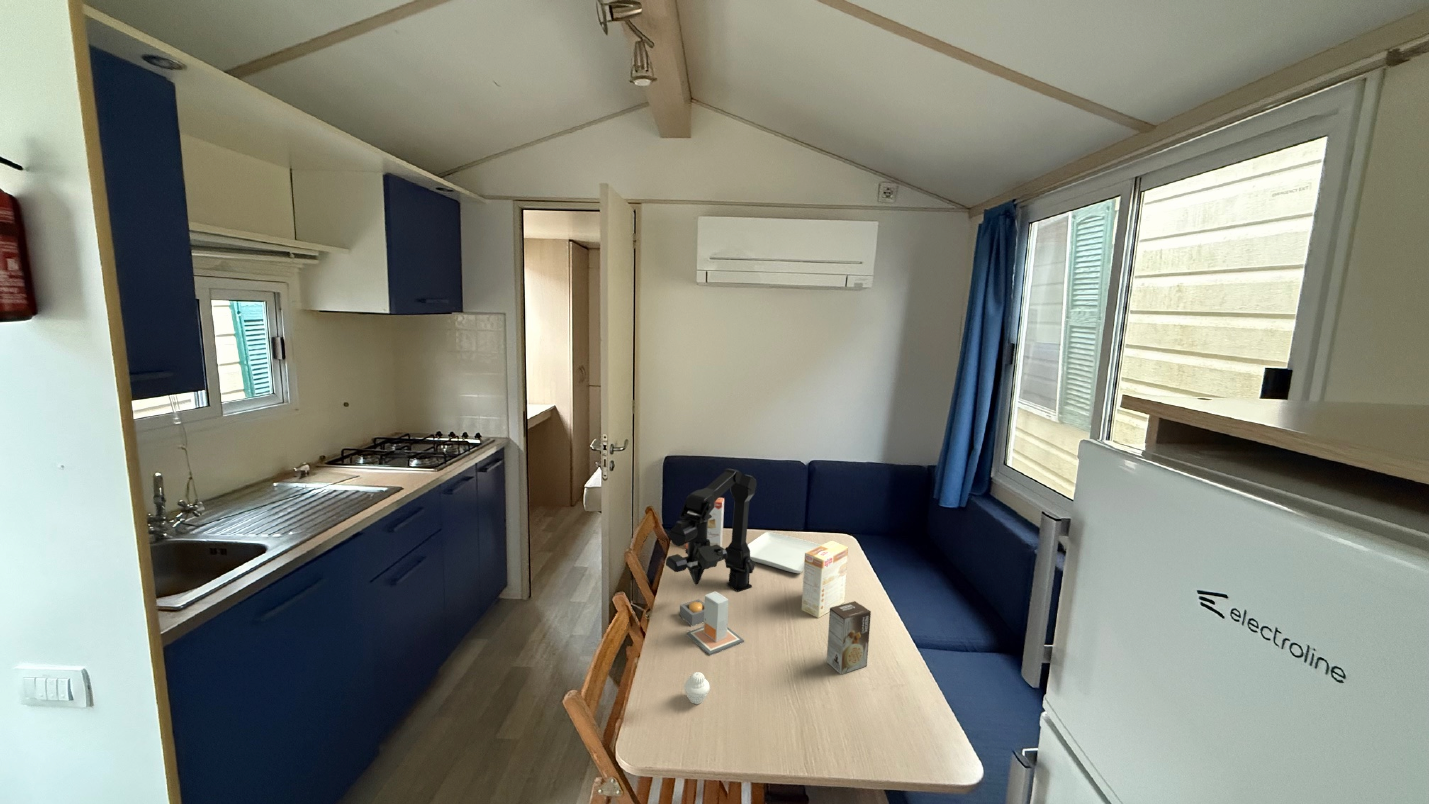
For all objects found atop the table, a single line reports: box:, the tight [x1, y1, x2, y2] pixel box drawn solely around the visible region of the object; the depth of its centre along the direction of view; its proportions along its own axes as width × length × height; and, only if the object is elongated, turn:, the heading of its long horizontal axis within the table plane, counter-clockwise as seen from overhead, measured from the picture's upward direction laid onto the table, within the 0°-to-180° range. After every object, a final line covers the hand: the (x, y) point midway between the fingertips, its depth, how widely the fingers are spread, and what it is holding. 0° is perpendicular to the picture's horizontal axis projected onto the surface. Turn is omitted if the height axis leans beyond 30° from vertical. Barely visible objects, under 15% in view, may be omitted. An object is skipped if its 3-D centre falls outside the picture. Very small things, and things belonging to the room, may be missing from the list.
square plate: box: [747, 531, 822, 574], centre depth 217 cm, size 27×27×4 cm
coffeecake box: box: [801, 540, 849, 619], centre depth 179 cm, size 15×7×20 cm, turn 134°
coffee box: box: [826, 600, 872, 675], centre depth 150 cm, size 9×6×16 cm
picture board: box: [685, 625, 745, 656], centre depth 161 cm, size 12×12×1 cm
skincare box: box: [703, 591, 729, 642], centre depth 160 cm, size 6×4×12 cm
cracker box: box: [685, 497, 725, 550], centre depth 220 cm, size 14×6×21 cm, turn 80°
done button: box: [689, 602, 702, 613], centre depth 171 cm, size 4×4×3 cm
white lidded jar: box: [683, 671, 711, 705], centre depth 134 cm, size 6×6×7 cm
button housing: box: [679, 598, 705, 627], centre depth 171 cm, size 7×7×4 cm
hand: (696, 584), depth 170 cm, fingers closed
